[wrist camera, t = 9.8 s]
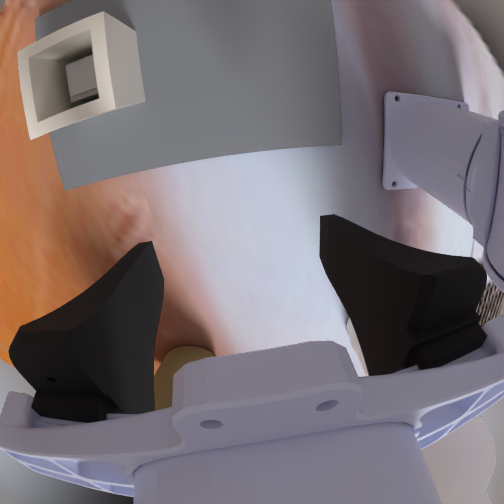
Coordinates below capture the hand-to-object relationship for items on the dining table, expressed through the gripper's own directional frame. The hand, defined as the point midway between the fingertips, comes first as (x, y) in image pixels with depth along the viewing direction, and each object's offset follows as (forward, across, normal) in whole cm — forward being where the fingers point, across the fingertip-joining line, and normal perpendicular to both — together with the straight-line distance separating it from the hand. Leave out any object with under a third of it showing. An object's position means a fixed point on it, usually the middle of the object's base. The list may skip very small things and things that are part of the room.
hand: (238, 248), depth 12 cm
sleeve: (+8, +7, -9) cm, 14 cm away
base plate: (+9, +2, -9) cm, 13 cm away
